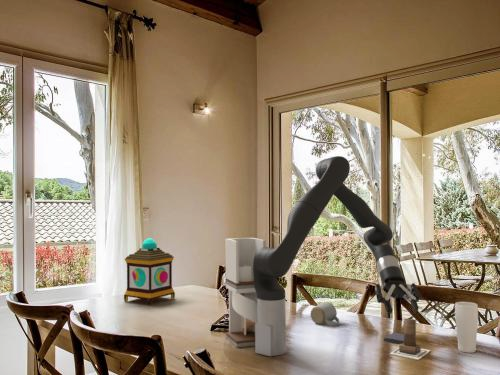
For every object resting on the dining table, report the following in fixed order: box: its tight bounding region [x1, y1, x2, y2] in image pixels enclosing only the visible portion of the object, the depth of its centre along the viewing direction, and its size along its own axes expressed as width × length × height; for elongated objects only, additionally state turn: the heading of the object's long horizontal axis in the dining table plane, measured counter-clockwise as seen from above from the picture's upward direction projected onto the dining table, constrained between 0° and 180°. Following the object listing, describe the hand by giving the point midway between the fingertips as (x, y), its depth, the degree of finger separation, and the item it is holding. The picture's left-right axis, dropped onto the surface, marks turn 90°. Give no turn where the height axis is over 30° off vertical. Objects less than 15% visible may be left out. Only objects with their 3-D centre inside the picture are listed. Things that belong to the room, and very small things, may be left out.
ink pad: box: [383, 332, 404, 345], centre depth 171 cm, size 9×7×1 cm
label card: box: [389, 347, 432, 361], centre depth 157 cm, size 11×9×1 cm
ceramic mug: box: [310, 301, 340, 327], centre depth 193 cm, size 11×8×8 cm
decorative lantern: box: [123, 237, 176, 306], centre depth 238 cm, size 20×20×30 cm
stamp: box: [398, 318, 422, 355], centre depth 157 cm, size 5×5×10 cm
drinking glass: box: [454, 301, 479, 354], centre depth 158 cm, size 7×7×15 cm
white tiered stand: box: [224, 237, 267, 348], centre depth 171 cm, size 11×11×35 cm
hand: (403, 312), depth 162 cm, fingers open, 8 cm apart
